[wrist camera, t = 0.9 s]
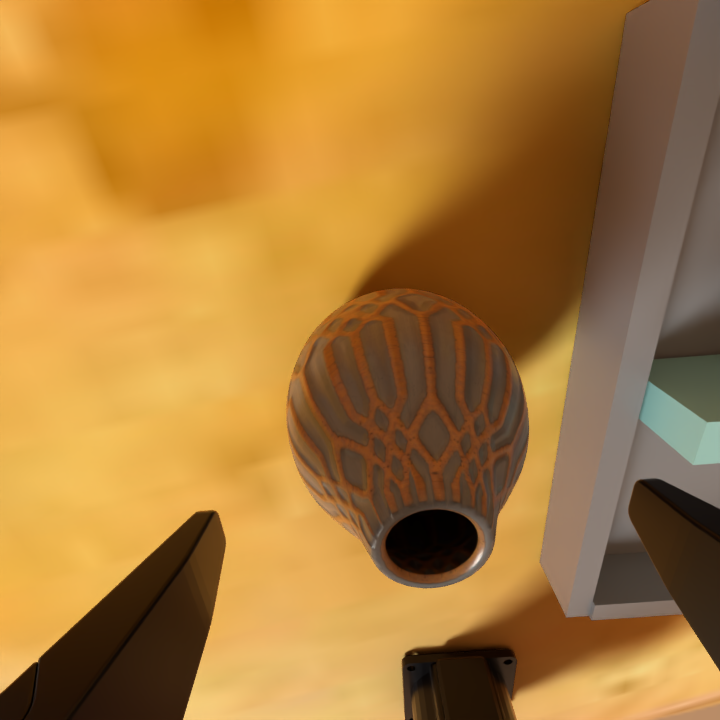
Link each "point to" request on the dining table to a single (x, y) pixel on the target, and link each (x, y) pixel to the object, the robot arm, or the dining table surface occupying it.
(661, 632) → the dining table surface
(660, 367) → the pusher
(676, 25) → the gray rectangular tray
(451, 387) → the vase
